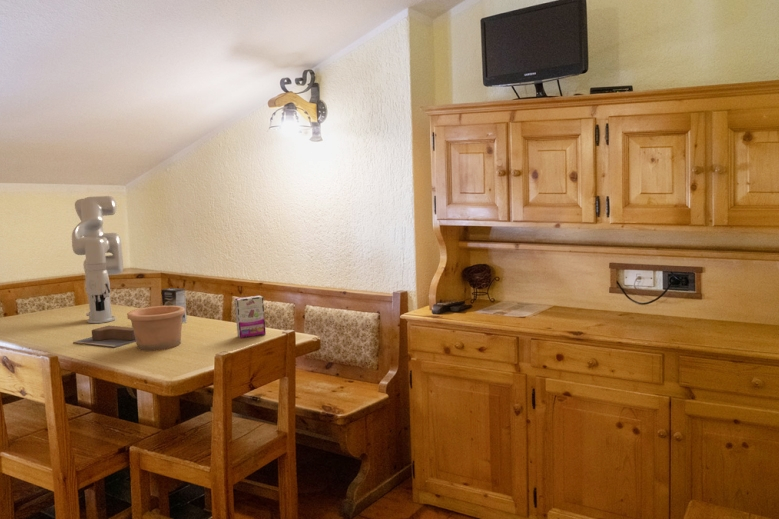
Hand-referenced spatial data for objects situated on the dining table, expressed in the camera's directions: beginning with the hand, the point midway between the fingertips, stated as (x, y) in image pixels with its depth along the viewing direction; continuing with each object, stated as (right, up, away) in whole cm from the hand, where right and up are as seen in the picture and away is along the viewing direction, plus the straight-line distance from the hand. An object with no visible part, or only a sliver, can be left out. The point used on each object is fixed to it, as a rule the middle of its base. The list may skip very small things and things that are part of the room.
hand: (100, 310), depth 271 cm
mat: (+5, -13, -1) cm, 14 cm away
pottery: (+29, -13, -12) cm, 35 cm away
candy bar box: (+64, -11, 0) cm, 65 cm away
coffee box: (+21, -8, +31) cm, 39 cm away
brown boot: (-1, -10, +2) cm, 10 cm away
